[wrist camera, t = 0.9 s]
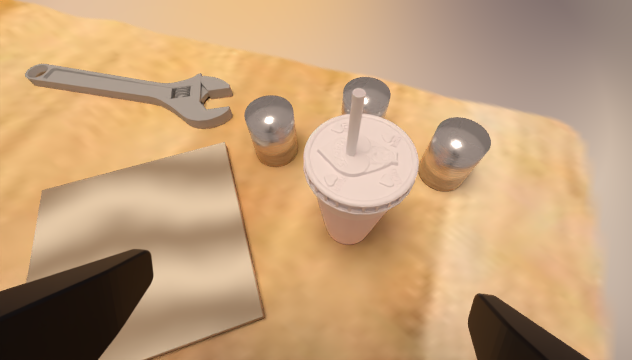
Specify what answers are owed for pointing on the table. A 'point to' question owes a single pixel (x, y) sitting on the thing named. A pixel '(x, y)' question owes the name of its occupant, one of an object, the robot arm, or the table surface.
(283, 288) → the table surface
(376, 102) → the posts
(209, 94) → the adjustable wrench
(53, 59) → the table surface
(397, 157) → the smoothie
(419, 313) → the table surface
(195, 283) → the pad
